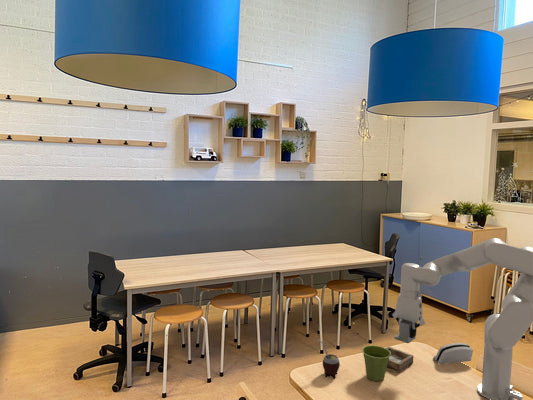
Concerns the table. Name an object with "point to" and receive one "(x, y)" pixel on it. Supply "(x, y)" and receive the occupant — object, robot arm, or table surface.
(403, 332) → the grey block
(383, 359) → the plant pot
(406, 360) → the square wooden tray
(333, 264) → the table surface
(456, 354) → the grey rounded block
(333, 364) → the mate gourd
